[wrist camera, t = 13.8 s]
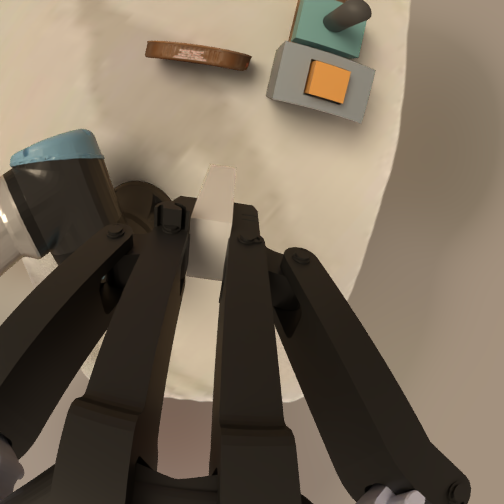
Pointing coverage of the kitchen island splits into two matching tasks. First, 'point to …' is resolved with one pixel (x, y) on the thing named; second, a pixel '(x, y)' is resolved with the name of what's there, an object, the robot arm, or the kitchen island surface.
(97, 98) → the kitchen island surface
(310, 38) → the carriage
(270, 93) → the cabinet
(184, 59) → the tin
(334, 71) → the button
